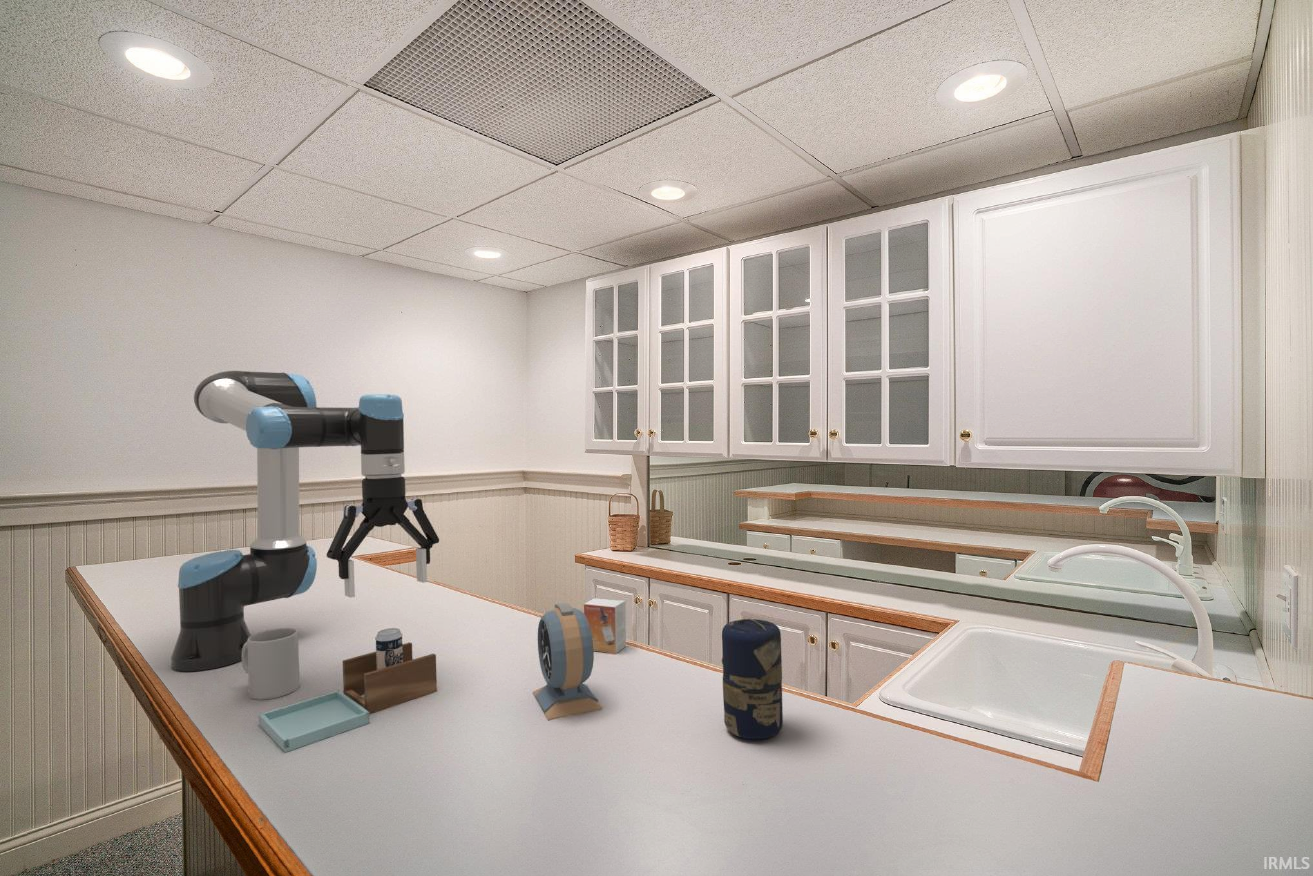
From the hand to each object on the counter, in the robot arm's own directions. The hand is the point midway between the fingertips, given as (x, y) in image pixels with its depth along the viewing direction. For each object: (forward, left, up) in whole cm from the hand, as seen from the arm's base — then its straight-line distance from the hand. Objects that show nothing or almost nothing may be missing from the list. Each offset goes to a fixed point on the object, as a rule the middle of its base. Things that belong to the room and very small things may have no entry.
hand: (387, 588), depth 118 cm
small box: (+13, +43, -20) cm, 49 cm away
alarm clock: (+28, +20, -20) cm, 40 cm away
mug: (-21, -15, -20) cm, 33 cm away
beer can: (0, 0, -20) cm, 20 cm away
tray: (+2, -14, -20) cm, 25 cm away
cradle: (0, 0, -20) cm, 20 cm away
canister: (+60, +33, -20) cm, 71 cm away
